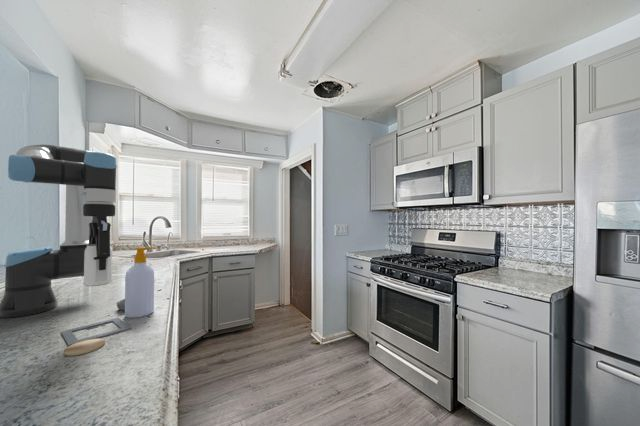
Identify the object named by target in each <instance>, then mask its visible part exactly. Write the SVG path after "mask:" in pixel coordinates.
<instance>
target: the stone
mask: <svg viewBox="0 0 640 426" xmlns="http://www.w3.org/2000/svg"><path fill="white" fill-rule="evenodd" d="M116 307H117V309H118V310H121V311H124V312H125V298H124V299H120V300H118V301H116Z"/></svg>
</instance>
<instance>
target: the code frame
mask: <svg viewBox="0 0 640 426" xmlns="http://www.w3.org/2000/svg"><path fill="white" fill-rule="evenodd" d="M110 323H113V324H114V325H115V326H116V327H118V328H116V329H114V330H109V331H106V332H102V333H99V334H96V335H91V336H89V337H85V338H82V339H81V338H80V339H78V338H77V337H76V335H75V334H74V332H78V331H81V330H85V329H86V330H88V331H89V330H92V329H96V328H99V326H101V327H105V326H106V325H107V324H110ZM132 329H133V328H132V327H131V326H130V325H129V324H128V323H126V322H125V321H124V320H122V319H121V318H120V317H115V318H110V319H107V320H103V321H99V322H94V323H90V324H86V325H83V326H78V327H74V328H69V329H65V330H61V331H60V334H61V335H62V337H63V339H64V340H65V343H66V344H67V347H69V346H71V345H73V344H75V343H78V342H81V341H85V340H90V339H102V338H105V337H108V336H111V335H116V334H118V333H119V334H120V333H123V332H126V331H129V330H132Z"/></svg>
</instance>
